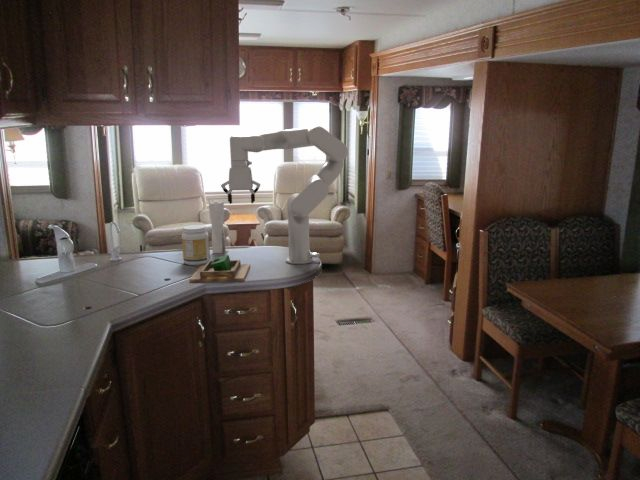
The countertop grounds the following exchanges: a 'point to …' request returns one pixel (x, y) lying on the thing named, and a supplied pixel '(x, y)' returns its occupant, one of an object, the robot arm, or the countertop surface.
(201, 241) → the supplement tub
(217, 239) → the skyscraper
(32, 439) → the countertop surface
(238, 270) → the brown shallow square tray
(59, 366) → the countertop surface
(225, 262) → the clamp
